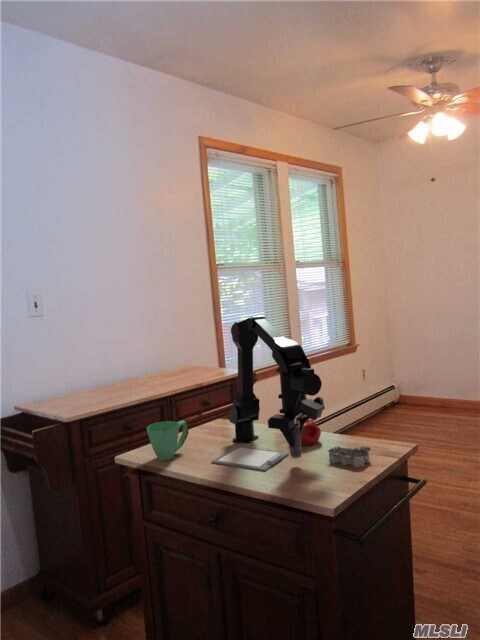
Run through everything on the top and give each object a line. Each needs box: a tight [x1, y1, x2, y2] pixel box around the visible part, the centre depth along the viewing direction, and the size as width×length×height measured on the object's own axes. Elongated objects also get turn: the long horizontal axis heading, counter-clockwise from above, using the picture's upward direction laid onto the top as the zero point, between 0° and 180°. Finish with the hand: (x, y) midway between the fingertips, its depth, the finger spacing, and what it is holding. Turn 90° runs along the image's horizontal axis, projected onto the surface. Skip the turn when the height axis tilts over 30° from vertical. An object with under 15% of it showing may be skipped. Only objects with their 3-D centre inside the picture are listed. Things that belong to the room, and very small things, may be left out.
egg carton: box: [326, 445, 371, 468], centre depth 137 cm, size 11×8×4 cm
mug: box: [146, 420, 189, 461], centre depth 153 cm, size 15×10×10 cm
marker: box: [289, 419, 303, 459], centre depth 136 cm, size 3×3×10 cm
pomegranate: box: [301, 419, 322, 446], centre depth 156 cm, size 10×10×9 cm
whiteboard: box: [211, 445, 290, 472], centre depth 145 cm, size 14×18×2 cm
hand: (295, 445), depth 136 cm, fingers closed on marker, 3 cm apart
